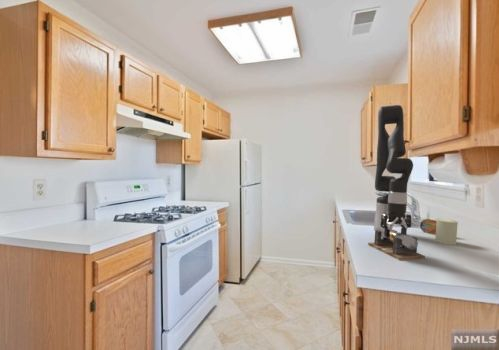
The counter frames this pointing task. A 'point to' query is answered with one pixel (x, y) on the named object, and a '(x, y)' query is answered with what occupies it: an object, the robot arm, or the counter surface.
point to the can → (446, 231)
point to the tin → (428, 226)
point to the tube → (405, 240)
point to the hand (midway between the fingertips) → (395, 236)
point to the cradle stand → (394, 248)
